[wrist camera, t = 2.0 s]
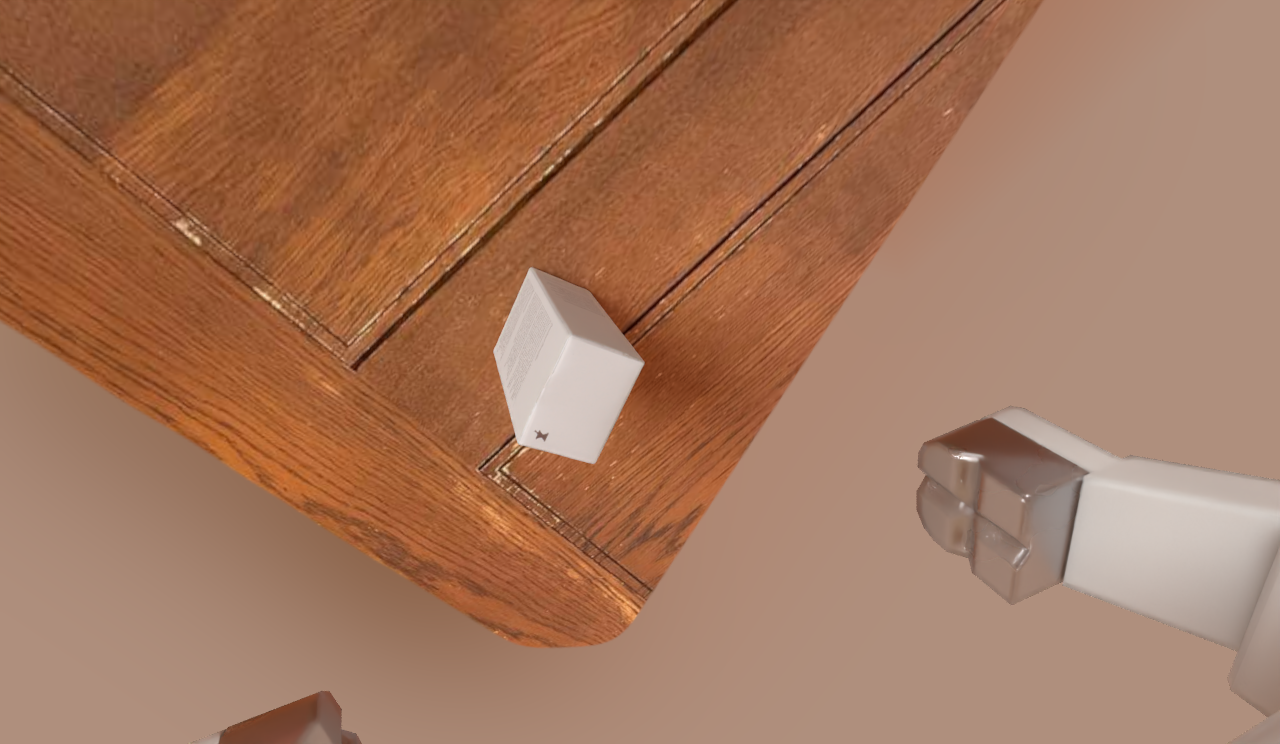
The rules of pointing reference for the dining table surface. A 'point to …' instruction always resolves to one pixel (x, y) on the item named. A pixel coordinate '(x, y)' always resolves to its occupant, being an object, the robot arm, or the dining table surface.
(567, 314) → the cosmetic box
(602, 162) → the dining table surface
